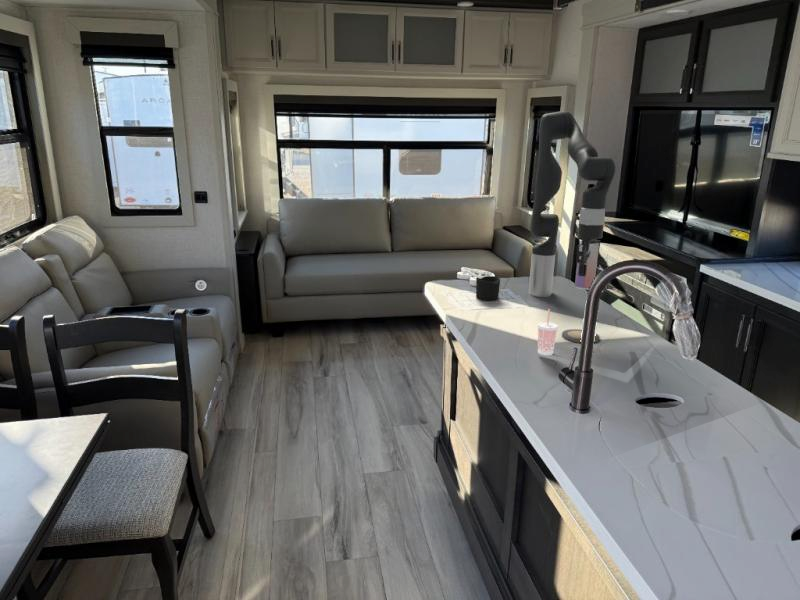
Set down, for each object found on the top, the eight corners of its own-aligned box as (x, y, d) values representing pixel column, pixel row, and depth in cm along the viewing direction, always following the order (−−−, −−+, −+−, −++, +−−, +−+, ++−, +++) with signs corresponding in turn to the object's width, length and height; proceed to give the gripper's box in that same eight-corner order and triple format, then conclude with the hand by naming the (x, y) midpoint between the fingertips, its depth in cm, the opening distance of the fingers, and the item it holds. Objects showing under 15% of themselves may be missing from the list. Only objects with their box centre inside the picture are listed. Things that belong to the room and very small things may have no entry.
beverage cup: (559, 352, 173) (563, 309, 169) (549, 357, 168) (553, 313, 165) (541, 347, 177) (545, 305, 173) (531, 352, 172) (535, 309, 169)
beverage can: (573, 288, 181) (578, 242, 176) (575, 284, 186) (580, 240, 182) (593, 290, 178) (598, 244, 174) (594, 286, 184) (599, 241, 180)
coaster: (570, 329, 195) (570, 326, 195) (604, 336, 188) (604, 334, 187) (556, 337, 186) (556, 335, 185) (591, 346, 179) (592, 343, 178)
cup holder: (452, 283, 255) (453, 268, 253) (473, 281, 260) (474, 266, 258) (476, 294, 238) (476, 277, 236) (497, 292, 242) (498, 275, 240)
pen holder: (475, 298, 231) (476, 275, 228) (498, 300, 229) (499, 276, 227) (475, 305, 222) (476, 280, 219) (498, 306, 220) (500, 281, 218)
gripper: (588, 219, 184) (583, 269, 188) (570, 223, 173) (565, 276, 178) (611, 221, 179) (605, 272, 184) (594, 225, 169) (588, 280, 173)
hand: (585, 274), depth 181 cm, fingers closed on beverage can, 6 cm apart
